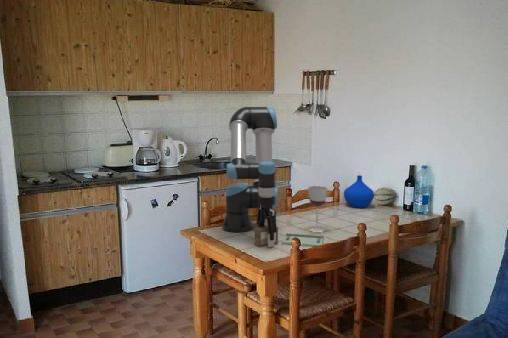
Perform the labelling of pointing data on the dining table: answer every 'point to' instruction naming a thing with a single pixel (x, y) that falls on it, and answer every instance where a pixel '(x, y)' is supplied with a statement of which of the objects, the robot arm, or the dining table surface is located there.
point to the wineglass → (317, 201)
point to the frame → (264, 236)
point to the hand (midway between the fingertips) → (266, 243)
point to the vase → (358, 194)
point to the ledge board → (304, 239)
